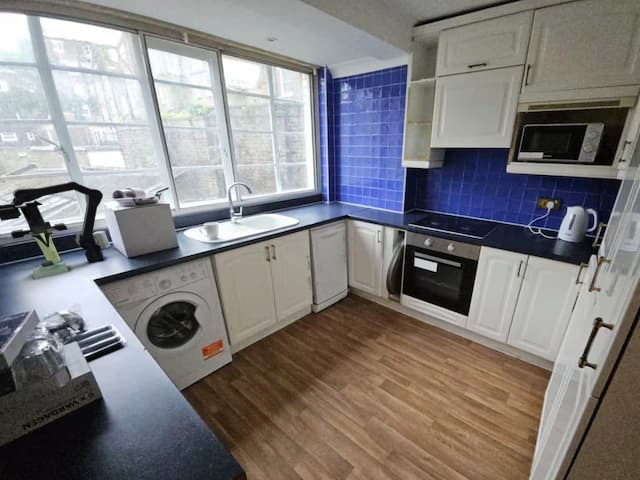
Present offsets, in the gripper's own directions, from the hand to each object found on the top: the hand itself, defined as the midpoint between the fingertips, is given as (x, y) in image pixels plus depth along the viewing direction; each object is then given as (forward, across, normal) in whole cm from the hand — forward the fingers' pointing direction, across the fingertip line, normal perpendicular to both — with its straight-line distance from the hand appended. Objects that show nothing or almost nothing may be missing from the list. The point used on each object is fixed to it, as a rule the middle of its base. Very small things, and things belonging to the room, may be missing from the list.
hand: (48, 247), depth 145 cm
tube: (+12, -1, +18) cm, 22 cm away
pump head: (+9, -3, -1) cm, 9 cm away
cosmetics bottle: (+13, +22, +27) cm, 37 cm away
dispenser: (+12, -3, -2) cm, 13 cm away
